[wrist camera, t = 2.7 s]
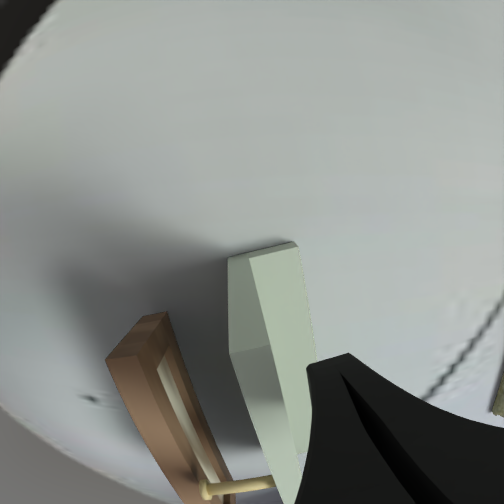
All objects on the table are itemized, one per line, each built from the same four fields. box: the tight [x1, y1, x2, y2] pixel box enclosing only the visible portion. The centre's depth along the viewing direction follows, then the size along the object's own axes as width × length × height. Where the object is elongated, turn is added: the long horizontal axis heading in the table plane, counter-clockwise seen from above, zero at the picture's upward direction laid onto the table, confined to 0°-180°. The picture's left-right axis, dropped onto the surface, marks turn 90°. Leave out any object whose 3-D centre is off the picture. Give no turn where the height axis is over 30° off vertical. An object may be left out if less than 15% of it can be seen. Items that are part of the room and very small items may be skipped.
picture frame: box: [105, 311, 236, 504], centre depth 15 cm, size 16×2×6 cm, turn 13°
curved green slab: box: [199, 242, 317, 504], centre depth 16 cm, size 18×8×10 cm, turn 13°
